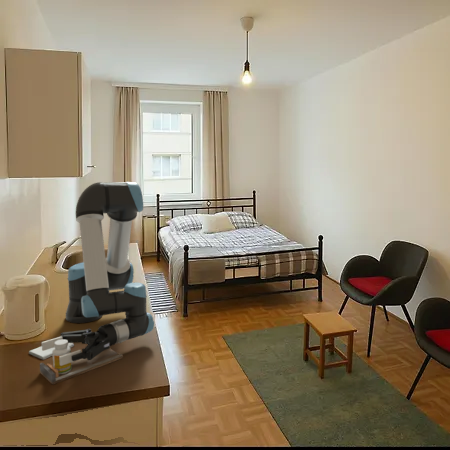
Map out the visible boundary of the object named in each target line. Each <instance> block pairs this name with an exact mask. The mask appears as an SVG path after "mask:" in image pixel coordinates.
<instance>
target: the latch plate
mask: <svg viewBox="0 0 450 450" xmlns="http://www.w3.org/2000/svg"><path fill="white" fill-rule="evenodd" d="M45 365H46V366H47V367H48V368H49V369H50V370H52V371H53V372H54V373H55V377H56V378H57V377H59V376H58V370H57V369H55V368H54V367H53V364H51V363H50V362H48V363H46V364H45Z"/></svg>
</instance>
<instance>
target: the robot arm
mask: <svg viewBox="0 0 450 450" xmlns="http://www.w3.org/2000/svg"><path fill="white" fill-rule="evenodd" d="M143 210H144V198H143V193H142V188H141V185H139V184H138V183H137V182H133V181H132V182H131V181H126V182H123V181H120V182H119V181H117V182H116V181H115V182H113V181H112V182H110V181H109V182H103V181H99V182H94V183H92V184H90V185H89V186H88V185H87V187H86V188H85V189H84V190H83V191H82V193H81V194H80V195H79V197H78V200H77V202H76V205H75V220H76V222H78V223H79V231H80V239H81V249H82V250H81V251H82V259H83V261H82V262H79V263H76V264H74V265H72V266H70V267H69V268H68V270H67V281H68V283H67V284H68V300H69V301H68V304H67V306H66V307H67V308H66V310H65V320H66V321H67V322H69V323H72V324H86V323H91V322H94V321H97V320H99V319H101V318H102V317H103V316H106V315H113V314H119V313H124V314H125V317H124V318H123V319H118V320H114V321H113V322H109V323H106V324H102V325H100V326H98V328H97V331H92V329H91V328H87V329H82V330H75V331H74V330H73V331H64V332H61V333H60V336H57V337H54V338H52V339H47V340H45V341H41V346H42V350H43V351H44V350H47V349H51V348H54V343H55V341H57V340H62V339H65V340H67V341H68V343H73V344H74V343H75V344H76V343H78V344H80V343H81V344H82V345H86V346H85V347H84V348H83V347H82V348H81V349H78V350H75V351H74V350H73V351H72V352H71V353H68V354H65V355H62V356H59V360H60V366H62V365H65V364H68V363H71V362H73V361H76V360H79V359H82V358H83V359H86V358H87V360H91V359H93V358H94V357H95V356H97V355H98V354H100V353H101V352H102V351H104V350H106V349H108V348H109V346H110V347H113V346H114V345H117V344H122V343H123V342H126V341H129V340H131V339H135V338H138V337H141V336H144V335H147V334H149V333H151V332H152V331H153V330H154V327H155V321H154V317H153V315H152V314H151V313H150V312H147V289H146V285H145V284H144V283H143V282H133V281H134V273H135V271H134V265H133V263H132V262H130V259H128V258H129V250H130V241H131V233H132V227H133V225H132V224H133V221H134V220H135V219H136V218H137V216H138V213H141V212H142V211H143ZM104 214H107V215H106V216H107V217H108V218H109V228H108V229H109V230H108V241H107V242H108V243H107V251H106V249H105V242H104V234H103V224H102V221H103V220H104V218H105V216H104ZM106 252H107V253H106ZM115 290H117V291H115Z"/></svg>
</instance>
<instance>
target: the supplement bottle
mask: <svg viewBox="0 0 450 450" xmlns="http://www.w3.org/2000/svg"><path fill="white" fill-rule="evenodd" d="M54 347H55V348H54V349H53V351H52V356H51V357H52V366H53V367H54V368H55V369H57V370H58V374H59V375H61V374H66V373H68V372H69V371H70V370H71V363H68V364H65V365H62V366H60V360H59V356H62V355H65V354H68V353H71V351H72V350H71V349H72V348H70V347H69V346H68V341H67V340H65V339H62V340H57V341H55V343H54Z"/></svg>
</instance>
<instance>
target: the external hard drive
mask: <svg viewBox="0 0 450 450" xmlns="http://www.w3.org/2000/svg"><path fill="white" fill-rule="evenodd" d="M68 346H69V347H70V349H72V348H73V347H75V344H74V343H68ZM54 348H55V347H54ZM54 348H51V349H47V350H44V351H43V350H42V345H41V346H39V347H37V348H34V349H31V350H29V351H28V354H29V355H32V356H33V357H36V358H38V359H41V360H43V361H44V360H46V359H48V358H51V357H53V356H52V351H53V349H54Z"/></svg>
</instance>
